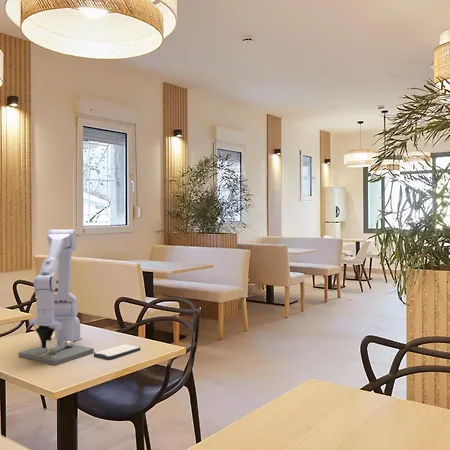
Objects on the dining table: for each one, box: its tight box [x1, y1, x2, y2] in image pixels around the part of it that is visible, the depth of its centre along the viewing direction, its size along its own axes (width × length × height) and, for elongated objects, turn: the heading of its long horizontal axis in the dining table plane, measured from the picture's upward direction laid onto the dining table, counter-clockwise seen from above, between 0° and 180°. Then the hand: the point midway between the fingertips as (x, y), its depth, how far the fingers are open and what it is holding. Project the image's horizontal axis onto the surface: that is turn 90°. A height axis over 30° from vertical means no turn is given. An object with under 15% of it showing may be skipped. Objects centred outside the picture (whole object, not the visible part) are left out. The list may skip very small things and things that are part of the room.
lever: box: [43, 337, 74, 356], centre depth 173 cm, size 15×4×5 cm, turn 161°
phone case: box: [93, 343, 141, 361], centre depth 176 cm, size 9×2×16 cm
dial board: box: [18, 342, 95, 366], centre depth 174 cm, size 17×19×2 cm
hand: (45, 347), depth 171 cm, fingers closed
